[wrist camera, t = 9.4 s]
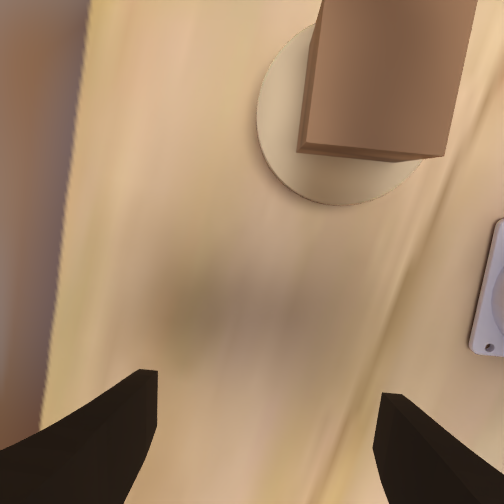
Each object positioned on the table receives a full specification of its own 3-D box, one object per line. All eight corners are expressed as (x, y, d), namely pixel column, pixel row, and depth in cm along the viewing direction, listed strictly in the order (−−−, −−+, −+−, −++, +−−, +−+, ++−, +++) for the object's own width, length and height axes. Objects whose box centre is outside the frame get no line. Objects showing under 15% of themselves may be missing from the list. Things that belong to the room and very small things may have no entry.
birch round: (428, 60, 18) (466, 32, 14) (385, 214, 19) (410, 221, 16) (275, 31, 18) (275, -5, 14) (246, 186, 19) (240, 188, 16)
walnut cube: (414, 54, 14) (477, -1, 10) (394, 162, 15) (443, 156, 11) (309, 44, 15) (326, -14, 10) (295, 152, 16) (306, 142, 11)
